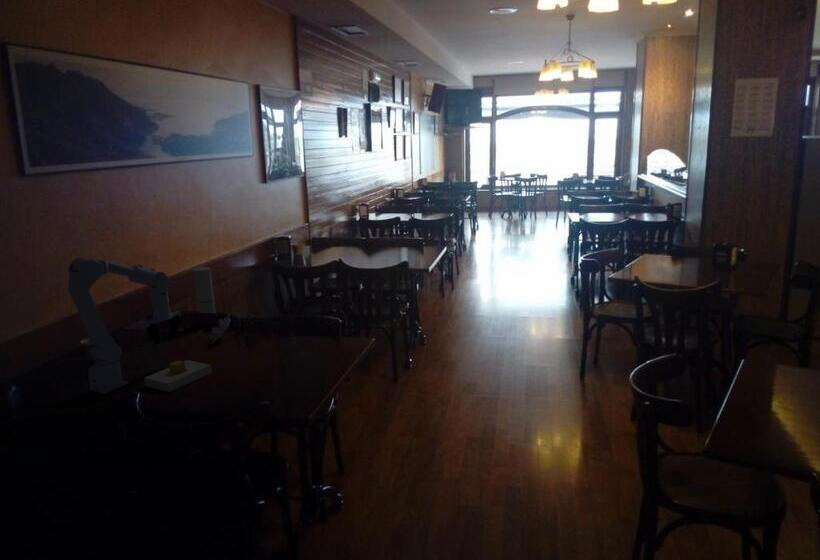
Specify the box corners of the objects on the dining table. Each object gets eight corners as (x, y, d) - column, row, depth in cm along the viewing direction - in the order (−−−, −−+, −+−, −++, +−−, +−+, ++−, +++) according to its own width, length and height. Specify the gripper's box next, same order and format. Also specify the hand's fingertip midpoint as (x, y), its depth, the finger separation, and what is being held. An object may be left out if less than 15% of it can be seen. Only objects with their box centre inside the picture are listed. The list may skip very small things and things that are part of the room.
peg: (178, 382, 210) (175, 365, 209) (171, 380, 212) (169, 363, 211) (186, 378, 213) (184, 362, 212) (179, 376, 215) (177, 360, 214)
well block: (169, 392, 202) (168, 383, 201) (145, 386, 208) (144, 377, 207) (212, 372, 217) (211, 364, 217) (188, 367, 223) (187, 359, 223)
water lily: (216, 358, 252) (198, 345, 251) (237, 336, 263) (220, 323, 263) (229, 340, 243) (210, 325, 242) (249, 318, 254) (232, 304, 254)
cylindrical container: (218, 321, 280) (212, 266, 274) (214, 325, 273) (207, 270, 267) (202, 321, 280) (195, 267, 274) (198, 326, 273) (190, 271, 267)
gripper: (150, 310, 213) (156, 348, 217) (184, 300, 226) (189, 336, 229) (137, 308, 217) (143, 345, 220) (171, 298, 229) (176, 333, 232)
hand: (165, 340), depth 225 cm, fingers open, 7 cm apart
